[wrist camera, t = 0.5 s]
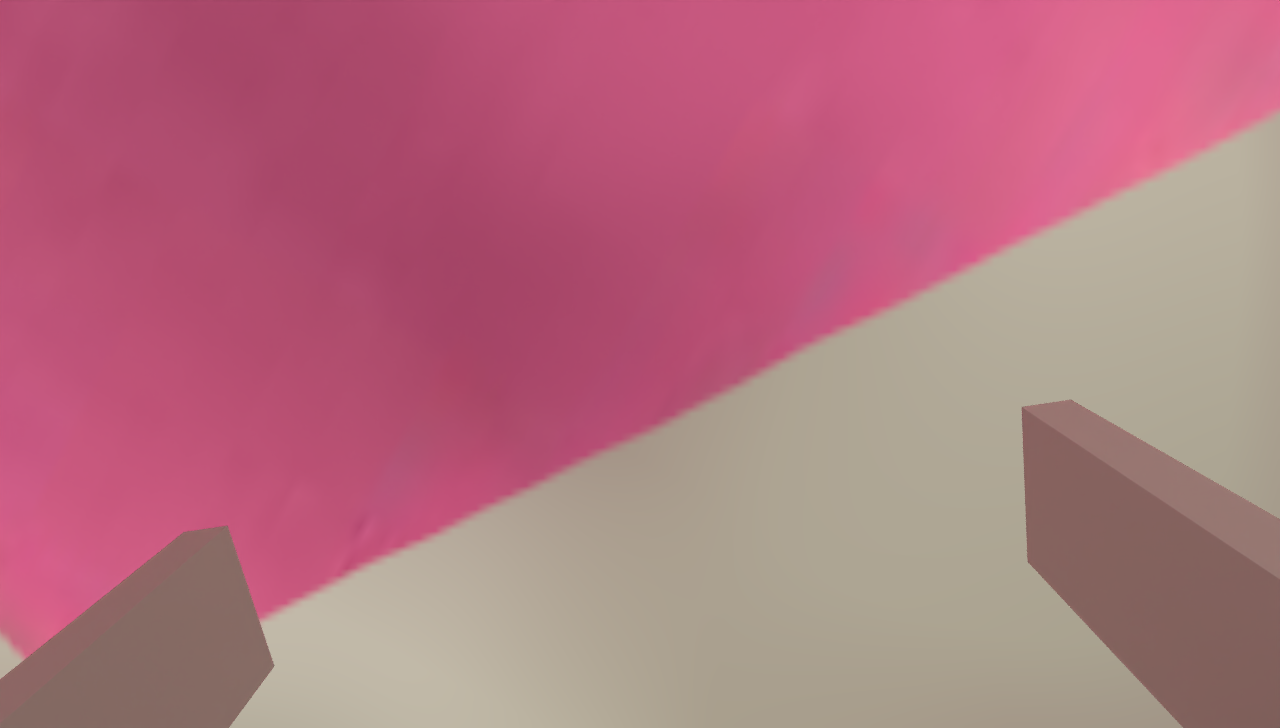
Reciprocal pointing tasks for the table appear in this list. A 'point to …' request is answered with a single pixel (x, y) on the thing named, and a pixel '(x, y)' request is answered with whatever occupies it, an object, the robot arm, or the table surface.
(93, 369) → the table surface
